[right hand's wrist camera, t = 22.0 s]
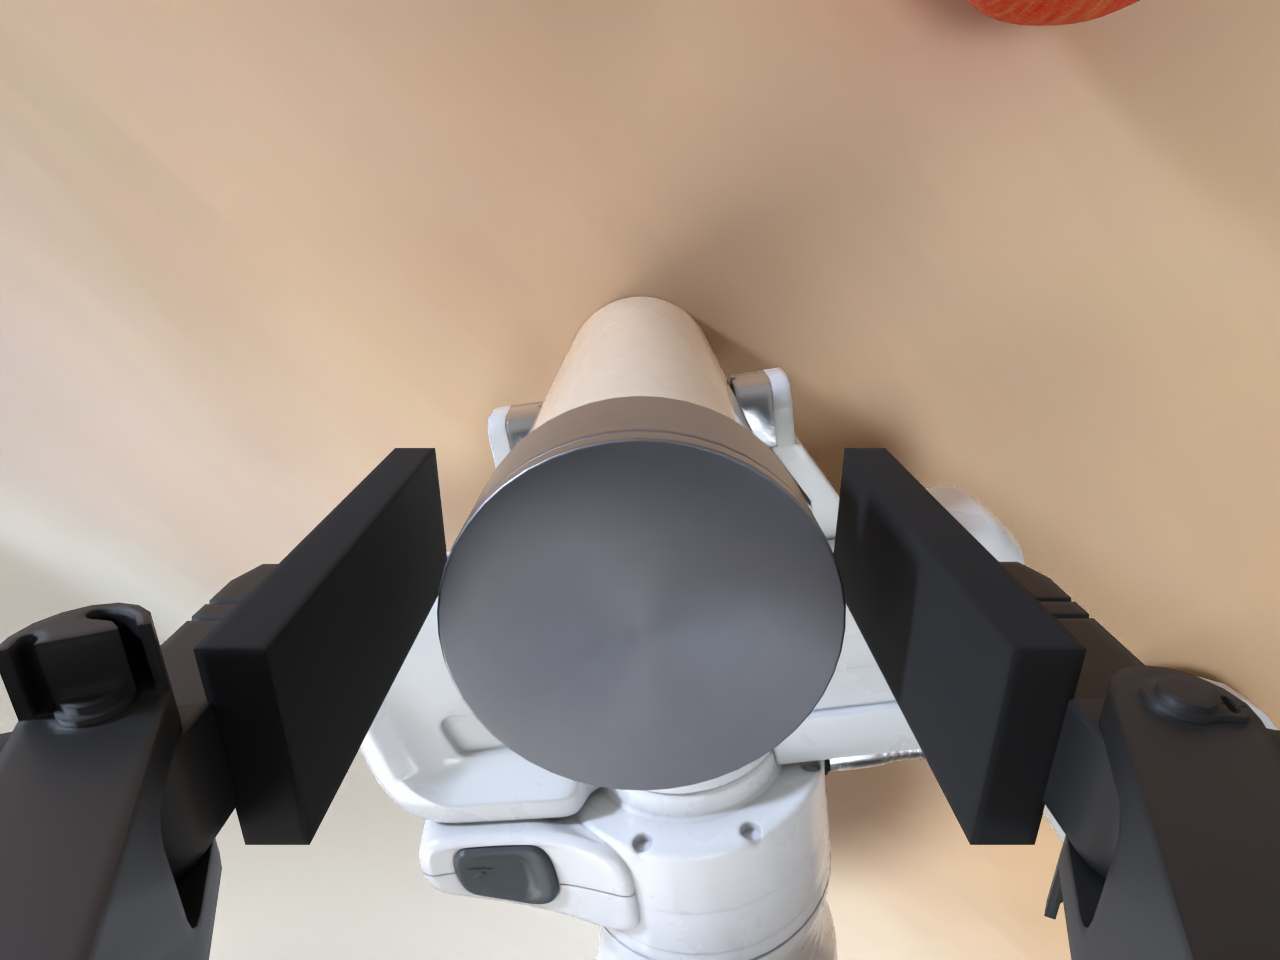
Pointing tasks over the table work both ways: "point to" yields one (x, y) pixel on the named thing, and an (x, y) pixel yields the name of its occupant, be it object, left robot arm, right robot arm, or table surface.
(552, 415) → the white bottle
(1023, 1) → the apple
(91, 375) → the table surface
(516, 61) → the table surface
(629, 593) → the lid
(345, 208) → the table surface
